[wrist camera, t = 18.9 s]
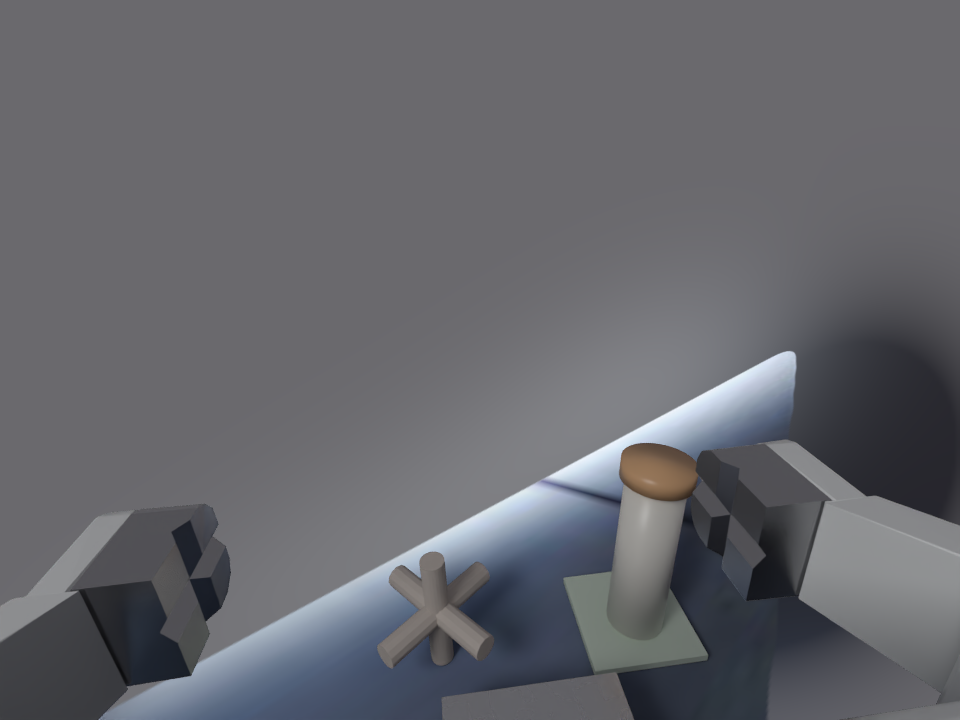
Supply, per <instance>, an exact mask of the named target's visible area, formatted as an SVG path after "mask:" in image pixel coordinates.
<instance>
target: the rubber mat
mask: <svg viewBox="0 0 960 720" xmlns="http://www.w3.org/2000/svg"><path fill="white" fill-rule="evenodd" d="M611 573H612V572H606V573H598V574H590V575H582V576H574V577H566V578H564V585H565V588H566V591H567V594H568V597H569V600H570V603H571V606H572V609H573V612H574V615H575V618H576V621H577V624H578V627H579V630H580V633H581V636H582V639H583V642H584V645H585V648H586V651H587V654H588V657H589V660H590V663H591V666H592V669H593V673H594V675H599V674H606V673H613V672H616V673H623V672H630V671H637V670H644V669H651V668H658V667H664V666H671V665H678V664H685V663H692V662H699V661H706V660H707V659H708V654H707V652H706V650H705V648H704V647H703V645H702V643H701V641H700V640H699V638H698V636H697V634H696V633H695V631H694V629H693V627H692V626H691V624H690V622H689V620H688V619H687V617H686V615H685V613H684V612H683V610H682V608H681V606H680V605H679V603H678V601H677V599H676V598H675V596H674V594H673V592H672V591H671V589H670V588H669V594H668V599H667V604H666V609H665V615H664V620H663V625H662V629H661V632H660V633H659V634H658V635H657V636H656V637H654V638H652V639H649V640H635V639H632V638H629V637H626V636H624V635H623V634H621V633H620V632H618V631H617V630H616V629H615V628H614V627H613V626H612V625H611V623H610V622H609V620H608V617H607V612H606V611H607V602H608V595H609V588H610V581H611Z"/></svg>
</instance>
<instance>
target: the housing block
mask: <svg viewBox="0 0 960 720" xmlns="http://www.w3.org/2000/svg"><path fill="white" fill-rule="evenodd" d="M442 718H443V720H634V718H633V715H632V713H631V710H630V707H629V705H628V702H627V699H626V697H625V694H624V692H623V689H622V686H621V684H620V681H619V678H618V676H617V673H616V672H613V673H606V674H599V675H593V676H586V677H579V678H572V679H565V680H558V681H551V682H544V683H537V684H530V685H524V686H517V687H510V688H503V689H496V690H489V691H482V692H475V693H468V694H461V695H454V696H448V697H442Z"/></svg>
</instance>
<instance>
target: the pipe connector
mask: <svg viewBox="0 0 960 720" xmlns="http://www.w3.org/2000/svg"><path fill="white" fill-rule="evenodd" d="M420 571H421V579H422V580H421V579H420V578H419V577H418V576H416V575H415V574H414V573H413V572H411V571H410V570H409V569H408V568H406V567H405V566H402V565H400V566H398V567H396V568H395V569H394V570H393V571H392V573H391V575H390V577H389V583H390V585H391V586H392V587H393V588H394V589H395V590H397V591H398V592H399V593H400V594H401V595H402V596H404V597H405V598H406V599H407V600H408V601H409V602H411V603H412V604H413V605H414V606H415V607H416V608H418V609H419V611H417V612H416V613H415V614H414V615H413V616H411V617H410V618H409V619H408V620H407V621H406V622H404V623H403V624H402V625H401V626H400V627H399V628H397V629H396V630H395V631H394V632H393V633H392V634H390V635H389V636H388V637H387V638H386V639H384V640H383V641H382V642H381V643H380V644H379V645H378V646H377V649H378V652H379V655H380V657H381V658H382V660H383V661H384V663H385V664H386V665H387V666H388V667H389V668H393V667H394V666H396V665H397V664H398V663H399V662H400V661H401V660H402V659H403V658H404V657H405V656H407V655H408V654H409V653H410V652H411V651H412V650H413V649H414V648H415V647H416V646H418V645H419V644H420V643H421V642H422V641H423V640H424V639H425V638H426V637H427V636H429V641H430V649H431V657H432V660H433V662H434V663H435V664H437V665H441V666H443V665H446V664H448V663H450V662H451V660H452V659H453V656H454V650H453V641H452V639H454V640H455V641H456V642H457V643H458V644H459V645H460V646H462V647H463V648H464V649H465V650H466V651H467V652H469V653H470V654H471V655H472V656H473V657H474V658H476V659H477V660H478V661H482V660H483V659H485V658H486V657H487V656H488V654H489V653H490V651H491V649H492V647H493V644H494V638H493V636H492V635H491V634H489V633H488V632H487V631H486V630H484V629H483V628H482V627H481V626H479V625H478V624H477V623H475V622H474V621H473V620H472V619H470V618H469V617H468V616H467V615H465V614H464V613H463V612H462V611H460V610H459V609H458V608H459V607H460V606H461V605H463V604H464V603H465V602H466V601H467V600H468V599H469V598H470V597H471V596H472V595H474V594H475V593H476V592H477V591H478V590H479V589H480V588H481V587H482V586H483V585H485V584H486V583H487V582H488V581H489V578H490V576H489V572H488V571H487V569H486V567H485V566H484V565H482V564H481V563H479V562H475V563H474V564H473V565H471V566H470V567H469V568H468V569H467V570H466V571H464V572H463V573H462V574H461V575H460V576H458V577H457V578H456V579H455V580H454V581H453V582H451V583H450V584H449V585H448V586H447V581H446V572H445V562H444V557H443V555H442V554H440V553H438V552H429V553H426V554H424V555H423V556H422V557H421V559H420Z"/></svg>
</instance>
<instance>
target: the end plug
mask: <svg viewBox="0 0 960 720" xmlns="http://www.w3.org/2000/svg"><path fill="white" fill-rule="evenodd" d="M696 464H697V463H696V461H695V460H694V459H693V458H692V457H690V456H689V455H687V454H686V453H684V452H682V451H680V450H678V449H675V448H673V447H669V446H666V445H661V444H654V443H640V444H634V445H631V446H629V447H627V448H625V449H624V450H623V452H622V455H621V462H620V470H619V476H620V479H621V480H622V482H623V483H624V486H623V494H622V501H621V508H620V515H619V523H618V530H617V537H616V544H615V552H614V559H613V566H612V573H611V581H610V588H609V595H608V602H607V611H606V612H607V617H608V620H609V622H610V623H611V625H612V626H613V627H614V628H615V629H616V630H617V631H618V632H620V633H621V634H623V635H624V636H626V637H629V638H632V639H635V640H649V639H652V638H654V637H656V636H657V635H658V634H659V633H660V632H661V629H662V625H663V620H664V615H665V609H666V604H667V599H668V594H669V588H670V583H671V578H672V573H673V568H674V562H675V557H676V552H677V547H678V541H679V536H680V531H681V526H682V520H683V515H684V510H685V505H686V500H687V498H689V497H690V496H692V492H693V491H694V490H695V489H696V484H697V479H698V474H697V473H696V471H695V470H696Z"/></svg>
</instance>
